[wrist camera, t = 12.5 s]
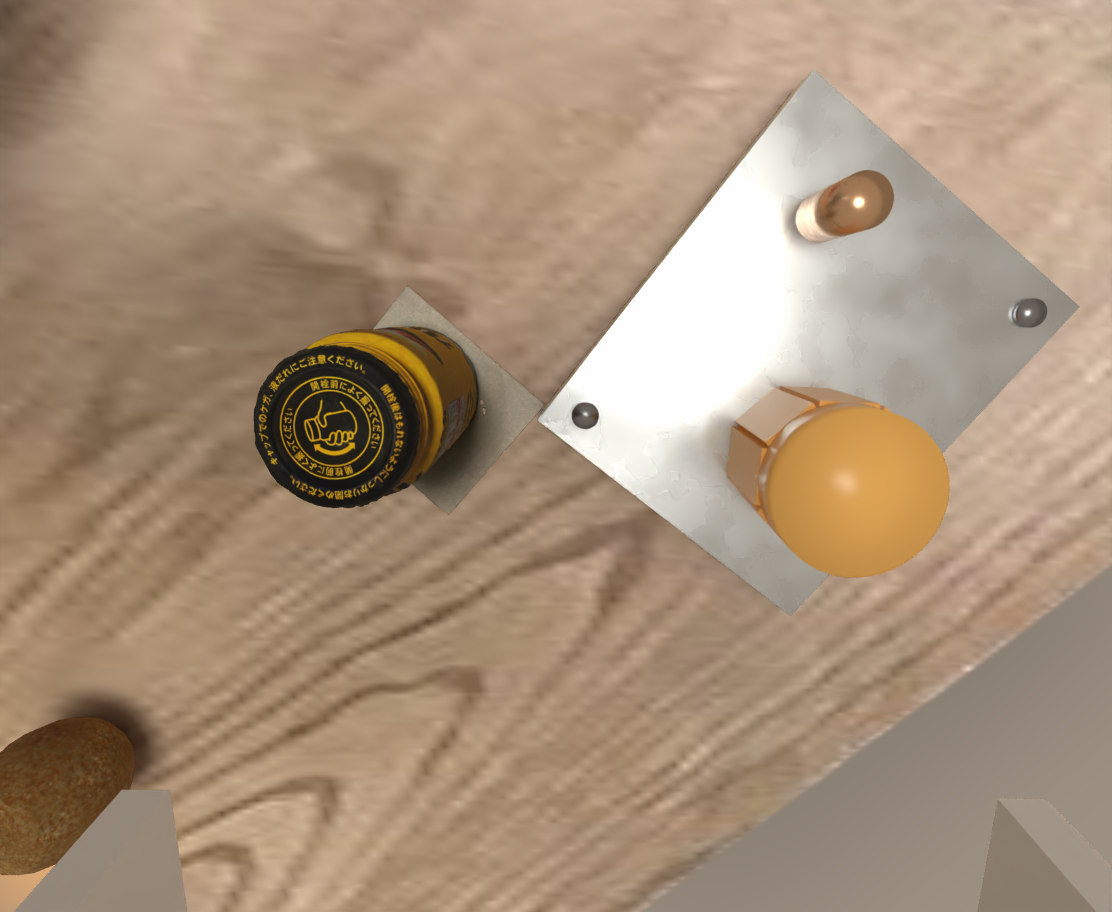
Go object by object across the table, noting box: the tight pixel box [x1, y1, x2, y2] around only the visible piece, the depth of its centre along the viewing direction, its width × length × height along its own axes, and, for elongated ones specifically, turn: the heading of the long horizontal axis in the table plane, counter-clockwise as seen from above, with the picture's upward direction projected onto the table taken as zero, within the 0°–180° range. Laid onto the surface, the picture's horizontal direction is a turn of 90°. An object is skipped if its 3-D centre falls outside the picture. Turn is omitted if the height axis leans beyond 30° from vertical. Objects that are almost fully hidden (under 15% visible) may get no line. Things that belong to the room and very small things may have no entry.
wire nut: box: [727, 386, 949, 577], centre depth 27 cm, size 6×6×7 cm
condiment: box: [254, 286, 544, 515], centre depth 27 cm, size 7×8×12 cm
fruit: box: [0, 717, 136, 875], centre depth 33 cm, size 6×6×8 cm
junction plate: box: [538, 70, 1079, 616], centre depth 29 cm, size 15×18×7 cm
